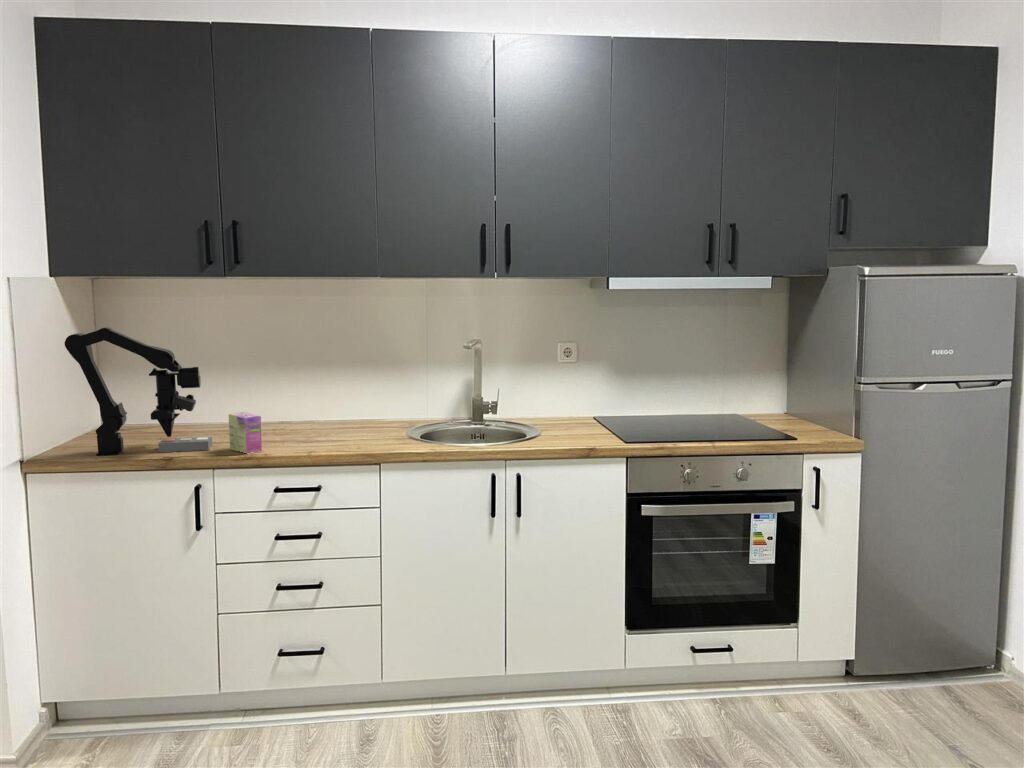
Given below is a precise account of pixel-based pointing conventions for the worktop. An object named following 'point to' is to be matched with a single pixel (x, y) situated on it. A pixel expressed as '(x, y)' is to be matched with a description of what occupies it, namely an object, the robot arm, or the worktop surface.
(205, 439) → the cream button
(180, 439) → the green button
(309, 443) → the worktop surface
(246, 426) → the box
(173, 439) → the red button
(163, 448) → the button panel
